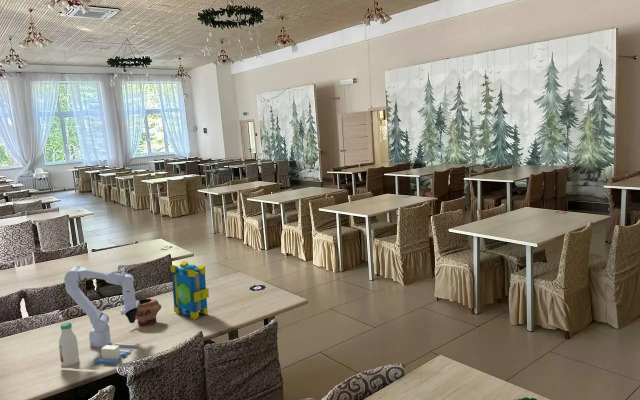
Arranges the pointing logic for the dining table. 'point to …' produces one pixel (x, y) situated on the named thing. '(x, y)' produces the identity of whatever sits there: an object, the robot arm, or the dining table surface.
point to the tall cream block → (110, 352)
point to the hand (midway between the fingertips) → (132, 322)
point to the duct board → (124, 351)
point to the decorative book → (189, 289)
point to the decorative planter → (147, 311)
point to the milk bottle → (68, 346)
